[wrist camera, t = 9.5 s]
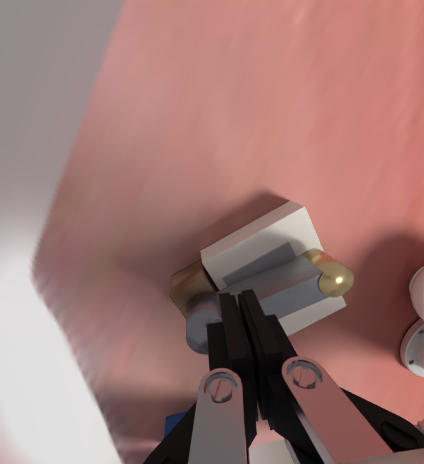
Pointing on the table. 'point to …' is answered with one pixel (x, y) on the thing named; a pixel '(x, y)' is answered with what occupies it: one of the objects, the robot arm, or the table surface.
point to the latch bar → (273, 292)
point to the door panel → (269, 257)
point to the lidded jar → (418, 292)
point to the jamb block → (190, 284)
